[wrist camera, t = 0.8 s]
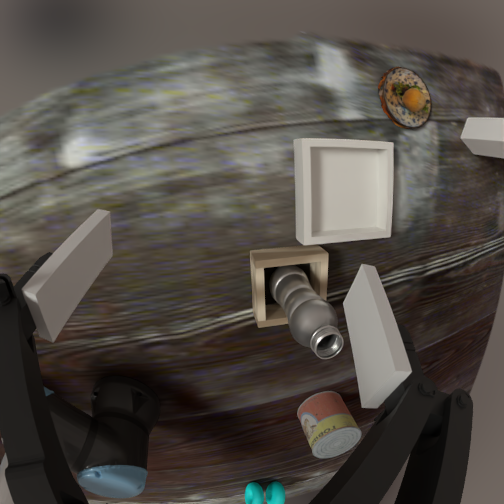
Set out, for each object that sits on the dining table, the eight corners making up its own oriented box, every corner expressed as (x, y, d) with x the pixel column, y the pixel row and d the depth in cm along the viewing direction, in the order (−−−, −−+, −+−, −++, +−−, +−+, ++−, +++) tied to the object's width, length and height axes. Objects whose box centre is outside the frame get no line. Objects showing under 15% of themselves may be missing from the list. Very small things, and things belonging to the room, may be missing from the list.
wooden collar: (315, 304, 54) (325, 317, 50) (253, 312, 53) (258, 327, 48) (316, 244, 51) (328, 253, 46) (249, 250, 49) (255, 261, 44)
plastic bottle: (304, 260, 51) (360, 318, 32) (300, 296, 53) (347, 365, 34) (267, 260, 50) (307, 323, 31) (264, 297, 52) (299, 371, 33)
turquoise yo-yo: (250, 476, 71) (256, 503, 61) (282, 475, 73) (289, 501, 64) (242, 490, 73) (247, 514, 64) (271, 489, 76) (277, 513, 66)
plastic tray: (378, 231, 52) (390, 237, 48) (296, 238, 50) (303, 245, 46) (380, 142, 47) (393, 142, 43) (293, 139, 45) (301, 138, 41)
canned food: (305, 392, 61) (322, 430, 50) (348, 389, 64) (369, 424, 52) (291, 424, 64) (305, 461, 53) (332, 420, 67) (349, 454, 56)
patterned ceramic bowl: (434, 113, 47) (459, 112, 40) (398, 140, 48) (423, 140, 41) (405, 60, 43) (430, 52, 36) (365, 82, 43) (389, 74, 36)
